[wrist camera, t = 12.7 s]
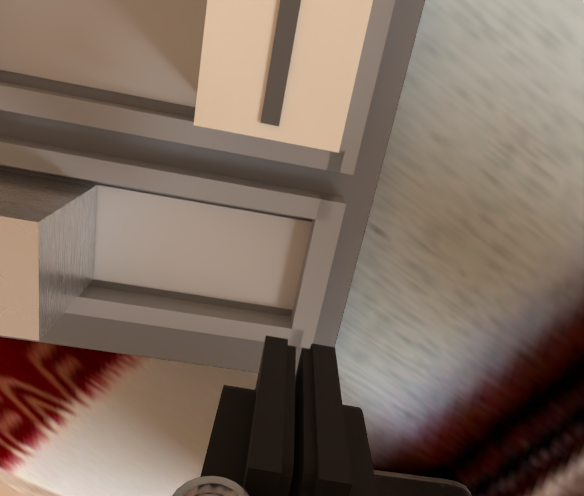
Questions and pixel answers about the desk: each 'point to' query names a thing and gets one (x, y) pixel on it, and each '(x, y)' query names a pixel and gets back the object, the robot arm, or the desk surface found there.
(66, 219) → the beige block
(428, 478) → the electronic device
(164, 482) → the desk surface
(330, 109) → the ivory knob
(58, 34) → the panel
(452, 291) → the desk surface
